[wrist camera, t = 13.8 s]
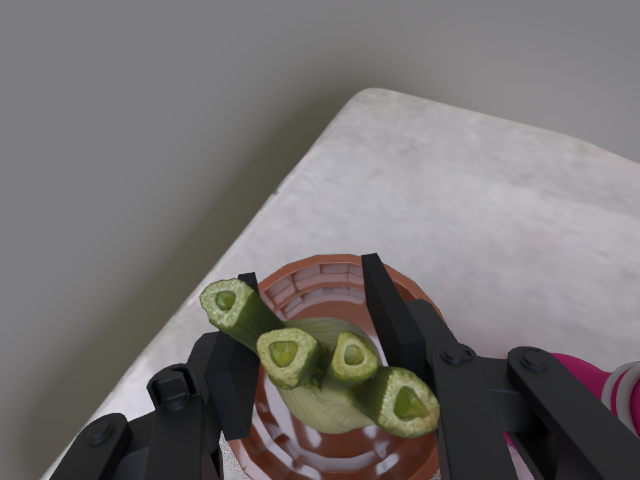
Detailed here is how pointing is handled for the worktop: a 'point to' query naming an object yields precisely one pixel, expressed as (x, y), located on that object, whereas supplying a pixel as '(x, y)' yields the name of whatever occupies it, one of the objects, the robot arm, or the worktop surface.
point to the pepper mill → (609, 389)
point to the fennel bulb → (323, 367)
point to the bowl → (289, 432)
